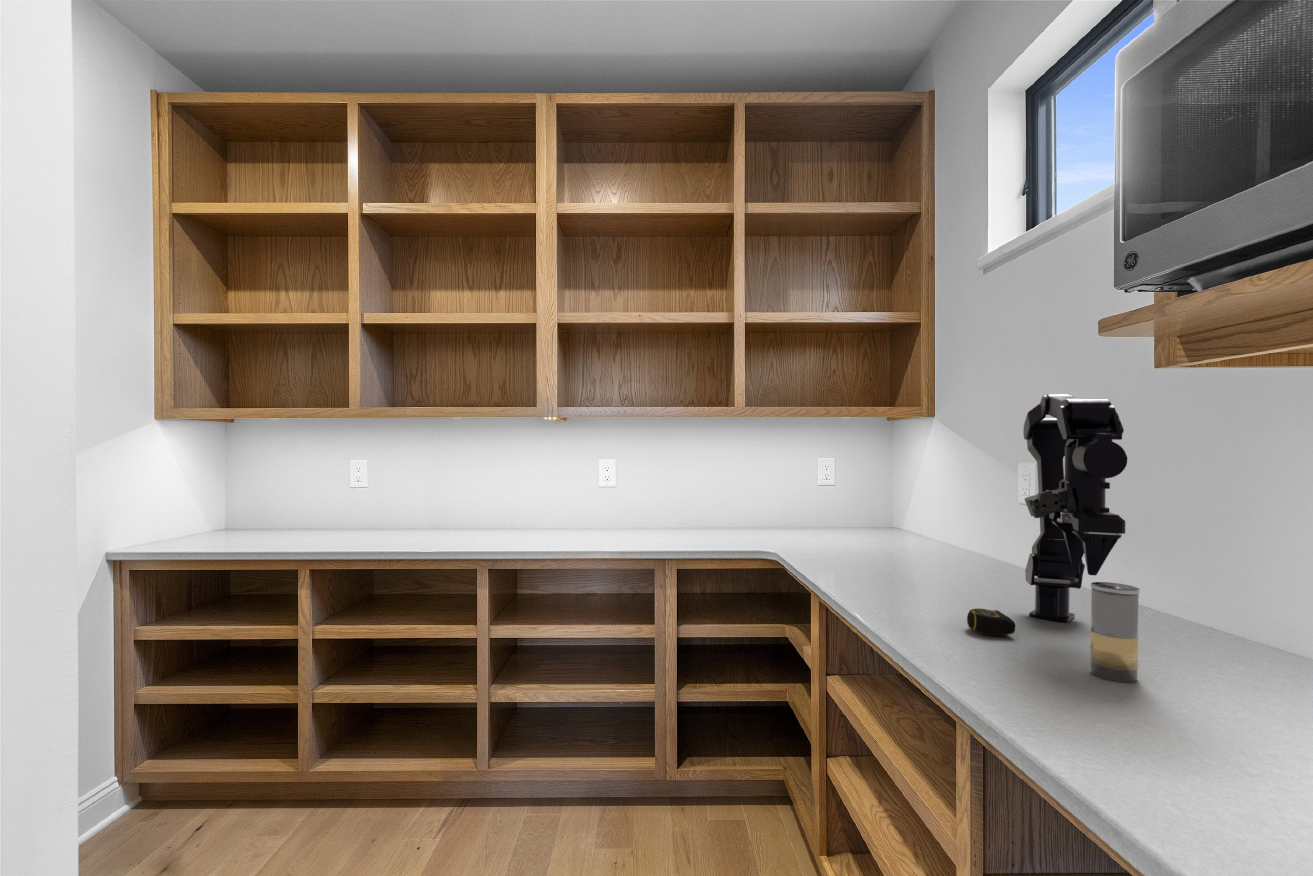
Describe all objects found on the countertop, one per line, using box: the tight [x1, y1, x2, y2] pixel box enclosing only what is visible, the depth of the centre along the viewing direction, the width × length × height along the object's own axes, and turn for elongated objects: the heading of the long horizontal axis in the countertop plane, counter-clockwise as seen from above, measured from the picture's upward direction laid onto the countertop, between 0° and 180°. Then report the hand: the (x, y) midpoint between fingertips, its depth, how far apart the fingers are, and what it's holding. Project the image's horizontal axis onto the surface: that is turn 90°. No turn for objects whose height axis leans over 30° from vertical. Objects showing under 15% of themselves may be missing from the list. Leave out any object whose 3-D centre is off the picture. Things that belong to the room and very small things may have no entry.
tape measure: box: [966, 607, 1016, 636], centre depth 117 cm, size 7×7×4 cm
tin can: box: [1089, 581, 1141, 684], centre depth 96 cm, size 6×6×13 cm
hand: (1083, 569), depth 109 cm, fingers open, 9 cm apart
